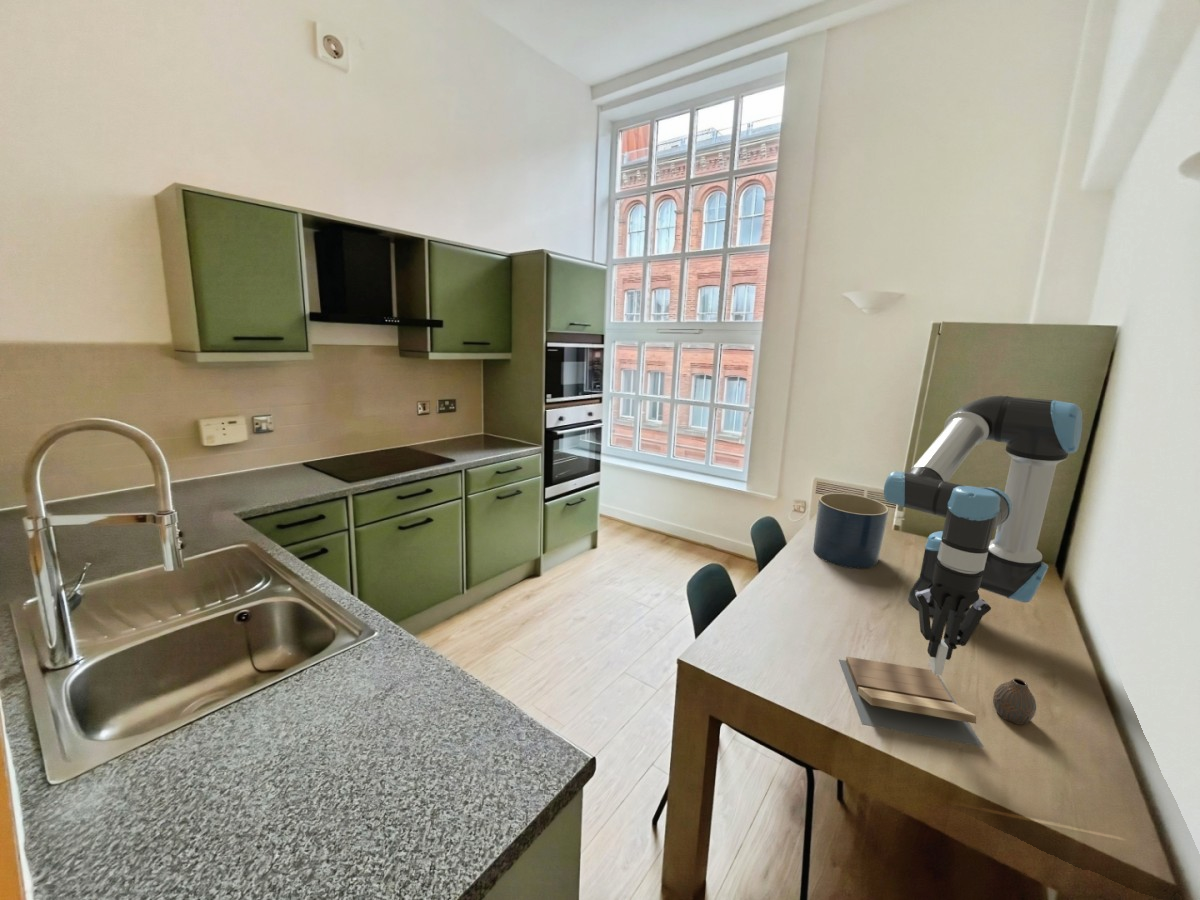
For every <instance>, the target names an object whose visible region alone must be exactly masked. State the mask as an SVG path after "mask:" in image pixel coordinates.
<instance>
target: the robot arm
mask: <svg viewBox="0 0 1200 900" xmlns="http://www.w3.org/2000/svg"><path fill="white" fill-rule="evenodd" d="M1082 433H1083V412H1082V409H1081V407H1080V406H1079V405H1078V404H1076V403H1073V402H1067V401H1066V402H1065V401H1059V400H1056V399H1054V400H1053V399H1044V398H1042V399H1041V398H1032V397H1031V398H1030V397H1021V396H1019V397H1018V396H1008V395H991V396H987V397H981V398H978V399H976V400H975V399H974V400H973V401H970V402H968V403H966V404H964V405H962V406H960V407H958V408H957V409H955V410H954V411H953V412H952V413H950V415H949V416H947V418H946V420H945V422H944V424H943V430H942V431H941V432H940V434H939V435H938V436H937V437H936V438H935V439H934V441H933V442H932V443H931V444H930V446H928V448H927V449H926V450H925V451H924V453H922V455H921V456H920V457H919V459H917V461H916V462H915V464H914V465H913V466H912V467H911V468H910V469H909V470H908V472H905V471H897V470H895V471H892V472H891V473H889V474H888V476H887V477H886V480H885V482H884V486H883V497H884V499H885V501H887V502H888V503H891V504H893V505H898V506H901V508H907V509H911V510H915V511H919V512H923V513H927V514H931V515H935V516H937V517H941V518H945V519H944V526H943V528H942V529H943V530H939V531H934V532H933V533H930V534H929V536H928V537H927V540H926V544H925V546H924V554H923V557H922V563H921V568H920V574H919V576H918V579H917V580H916V581H915V583H914V584H913V586H912V587H911V588H910V590H909V591H908V596H907V597H908V598H907V600H908V602H909V603H910V605H912V606H913V608H915V609H917V610H918V618H919V629H920V633H921V635H922V637H923V638H924V640H926V641H929V642H928V646H927V650H926V651H927V654H928V655H929V656H930V658H929V662H928V667H929V670H932V672H933V674H936V675H938V676H943V672H944V668H945V663H946V660H948V661H950V660H951V658H952V654H953V651H954V650H956V649H958V646H961V647H964V646H966V645H967V644H968V642H969V640H970V639H971V637H972V636H973V634H974V632H975V631H976V628H977V626H978V625H979V624H980V622H981V619H982V618H983V617H984V616H985V615H986V614H987V613H989V612H990V611H991V609H992V608H991V606H990V605H989V603H987V602H986V600H984V599H981V597H980V594H979V590H980V589H981V590H984V591H987V592H990V593H993V594H996V595H998V596H1000V597H1001V596H1002V597H1004V598H1006V599H1008V600H1014V601H1017V602H1020V603H1023V604H1024V603H1030V602H1031V601H1033V599H1034V597H1035V595H1036V593H1037V591H1038V590H1039V587H1040V586H1041V583H1042V582H1043V579H1044V577H1045V576H1046V574H1047V572H1048V568H1049V565H1048V564H1047V563H1045V562H1043V561H1042V560H1043V554H1042V553H1041V552H1040V550H1038V549H1037V547H1038V544H1039V539H1040V535H1041V530H1042V527H1043V522H1044V518H1045V516H1046V515H1045V514H1046V510H1047V506H1048V502H1049V498H1050V493H1051V490H1052V485H1053V482H1054V477H1055V474H1056V468H1057V466H1058V464H1059V463H1061V462H1064V461H1066V460H1067V459H1068V455H1071V454H1075V453H1077V452H1078V450H1079V447H1080V444H1081V438H1082ZM985 441H991V442H992V441H993V442H997V443H1004V444H1006V446H1005V450H1004V451H1005V453H1006V454H1007V455H1009V457H1010V458H1011V459H1010V464H1009V468H1008V469H1009V470H1008V474H1007V478H1006V483H1005V488H1004V491H1002V490H1001V489H999V488H995V487H988V486H987V487H978V486H973V485H962V484H957V483H954V482H950V481H949V480H950V479H951V478H952V477H953V476H954V474H955V473H956V471H957V470H958V469H959V468H960V466H961V465H962V464H963V463H964V461H965V460H966V458H967V457H968V456H969V455H970V453H971V452H972V451H973V449H974V448H975V446H977V445H981V444H983V442H985ZM995 529H996V531H995V534H994V530H995ZM993 534H994V538H992V537H993ZM931 617H932V622H931Z"/></svg>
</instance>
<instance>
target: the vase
mask: <svg viewBox="0 0 1200 900" xmlns="http://www.w3.org/2000/svg"><path fill="white" fill-rule="evenodd" d="M992 703H993V707H994V709H995V711H996V712H997V714H998V715H999V716H1000V717H1002V718H1003V719H1004V720H1006V721H1008V722H1010V723H1013V724H1016V725H1017V724H1018V725H1022V724H1023V725H1024V724H1027V723H1030V721H1031V720H1033V718H1034V717H1035V714H1036V712H1037V702H1036V699H1035V696H1034V694H1033V693H1032V692H1031V690H1030V688H1029V685H1028V683H1027V682H1025V681H1024V680H1022V679H1020V678H1016V677H1015V678H1014V677H1013V678H1012V679H1011V680H1009V681H1006V682H1003V683H1001V684H1000V685H998V686H997V687H996V689H995V690H994V693H993V697H992Z"/></svg>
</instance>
